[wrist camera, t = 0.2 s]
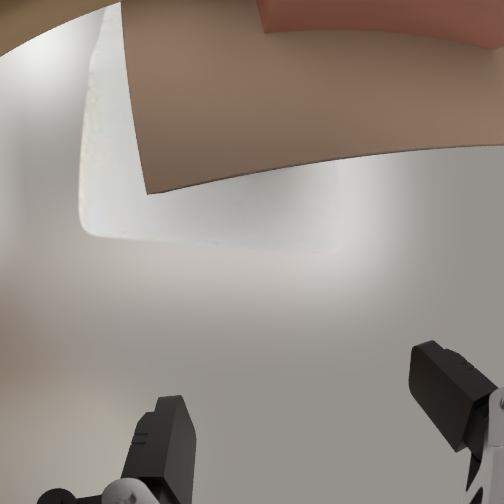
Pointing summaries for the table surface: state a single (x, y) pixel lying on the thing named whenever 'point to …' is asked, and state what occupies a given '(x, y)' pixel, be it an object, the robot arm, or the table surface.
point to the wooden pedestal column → (293, 92)
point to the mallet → (296, 18)
